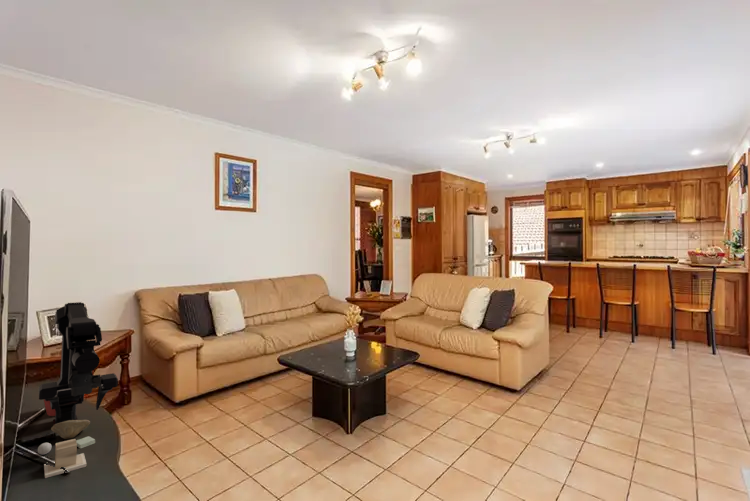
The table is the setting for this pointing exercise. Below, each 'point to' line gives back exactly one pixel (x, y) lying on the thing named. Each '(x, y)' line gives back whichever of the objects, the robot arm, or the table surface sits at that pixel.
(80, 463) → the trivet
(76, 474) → the table surface
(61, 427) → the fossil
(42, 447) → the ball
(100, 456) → the table surface
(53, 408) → the robot arm
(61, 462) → the block
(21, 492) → the table surface
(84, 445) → the tile
